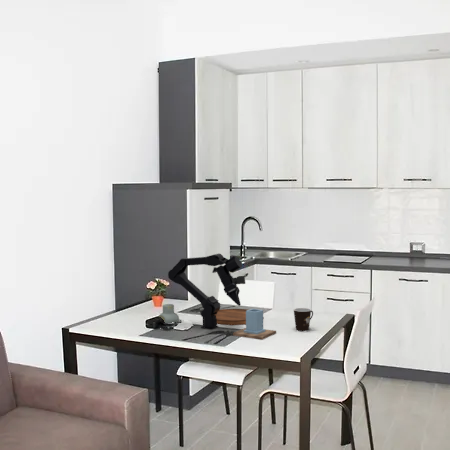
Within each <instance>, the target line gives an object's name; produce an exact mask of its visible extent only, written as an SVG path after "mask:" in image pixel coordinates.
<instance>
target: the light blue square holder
mask: <svg viewBox="0 0 450 450" xmlns="http://www.w3.org/2000/svg"><path fill="white" fill-rule="evenodd" d="M263 317H264V310H263V309H258V308H250V309H248V310H247V311H246V325H245V328H246V330H244V333H250V334H256V335H257V334H260V333H263V332H265V331H266V330H267V329H266V328H264V319H263Z"/></svg>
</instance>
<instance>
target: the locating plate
mask: <svg viewBox="0 0 450 450" xmlns="http://www.w3.org/2000/svg"><path fill="white" fill-rule="evenodd" d="M244 330H246V327H244V328H243V329H242V328H241V329H239V330H237V331H234V332H232V336H234V337H235V336H236V337H241V338H248V339H255V340H261V341H262V340H264V339H266V338H267V339H268V338H269V337H271V336H273V335H275V334H277V330H274V329H266V331H265V332H263V333H260V334H257V335H256V334H250V333H244Z"/></svg>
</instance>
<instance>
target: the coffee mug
mask: <svg viewBox="0 0 450 450" xmlns="http://www.w3.org/2000/svg"><path fill="white" fill-rule="evenodd" d="M293 316H294V324H295V330H296V331H297V330H298V331H297V332H308V331H309V330H310V324H311V323H310V322H311V320H312V318H313V316H314V311H313V310H312V309H311V308H307V307H296V308H294V309H293ZM307 330H308V331H307Z"/></svg>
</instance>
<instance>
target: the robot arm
mask: <svg viewBox="0 0 450 450" xmlns="http://www.w3.org/2000/svg"><path fill="white" fill-rule="evenodd" d="M199 265H200V266H201V265H206V266H209V267H213V269H212V272H211V273H213V274H215V273H217V275H218V278H219V280H220V282H221V284H222V286H223V291H224V293H225V294H226V296H227V297H228V298H230V299H231V300H232V301H233V302H234V303H235V304H236V305H237V306H238V307H240V306H241V305H242V304H241V301H240V300H241V299H240V296H239V294H240V292H241V291H240V288H239V287H238V285H245V284H246V277H245V276H241V275H240V276H237V277H234V276H232V275H231V273H232V274H233V273H234V272H236V271H239V270H240V269H242V268H243V263H242V261H241V259H239V258H238V257H237V255H233V256H232V257H230V258H229V259H228V258H226V257H224V255H222V254H221V253H216V254H215V253H214V254H211V255H207V256H200V257H183V258H180V259H179V261H178V262H177V263H176V264H175V265H174V266H173V267H172V268H171V269H169V271H168V272H167V277H168V279H169V280H170V281H171V282H173V283H175V284H178V285H180V286H182V287H183V288H184V289H185V290H186V291H187V292H188V293H189V294H191V295H192V296H193V297H194V298H195V299H196V300H197V301H198V302H199V303H200V305H201V307H202V309H203V310H201V312H200V316H201V317H202V326H200V328H202V329H207V330H213V329H215V328H218V327H219V325H218V324H217V318H216V315H215V314H217V312H218V311H219V310H221V303H220V302H219V300H218V299H217V298H216V297H215V296H214V295H211V296H208V295H207V294H205V293H204V292H203V291H202V290H201V289H200V288H199V287H198V286H196V285H195V284H194V283H193V282H192V281H191V280H190V279H188V277H187V274H186V273H185V272H186V270H187V268H188V266H199Z"/></svg>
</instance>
